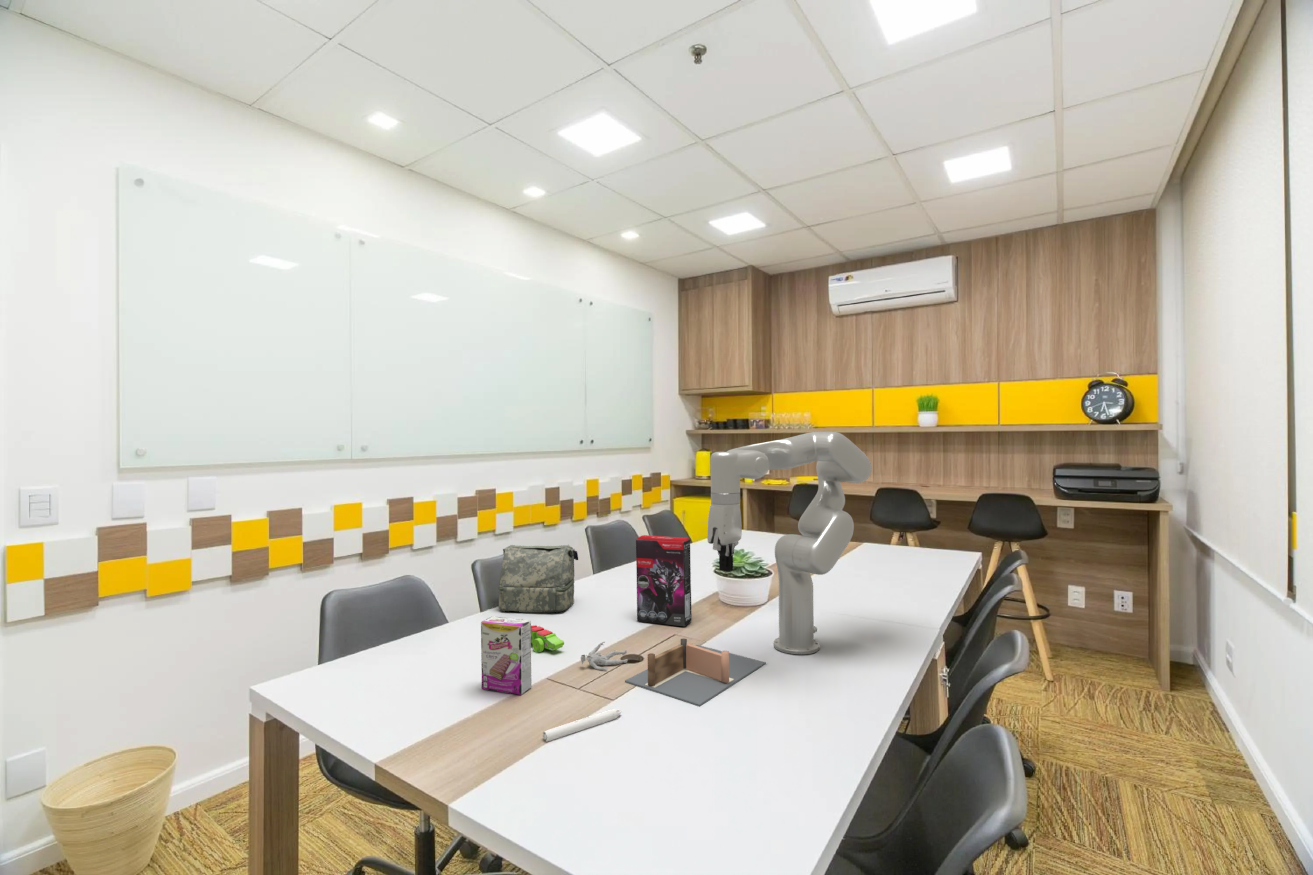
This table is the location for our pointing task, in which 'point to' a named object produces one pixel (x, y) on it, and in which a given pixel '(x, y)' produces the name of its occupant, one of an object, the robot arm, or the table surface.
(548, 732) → the marker
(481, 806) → the table surface
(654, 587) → the graphics card box
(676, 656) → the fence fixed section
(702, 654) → the fence swing section
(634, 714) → the table surface
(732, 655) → the mat
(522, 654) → the candy bar box
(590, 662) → the soldier figure
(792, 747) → the table surface
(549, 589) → the lunch bag
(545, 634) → the toy crocodile
